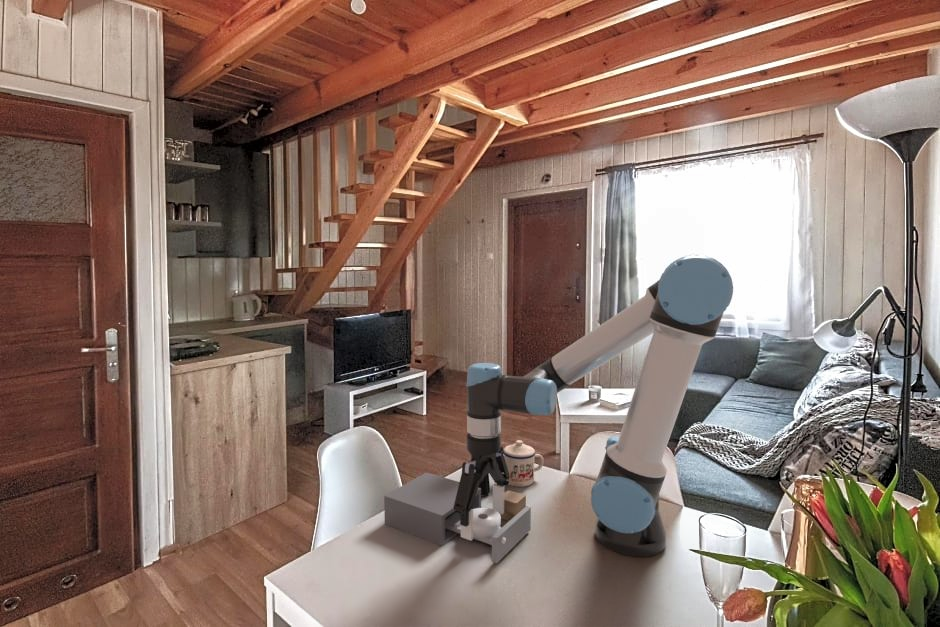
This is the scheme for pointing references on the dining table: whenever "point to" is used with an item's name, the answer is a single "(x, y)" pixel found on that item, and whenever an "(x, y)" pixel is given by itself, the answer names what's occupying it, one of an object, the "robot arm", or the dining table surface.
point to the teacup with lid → (521, 464)
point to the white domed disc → (485, 522)
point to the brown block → (512, 504)
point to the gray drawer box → (425, 507)
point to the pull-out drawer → (500, 532)
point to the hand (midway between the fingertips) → (483, 524)
